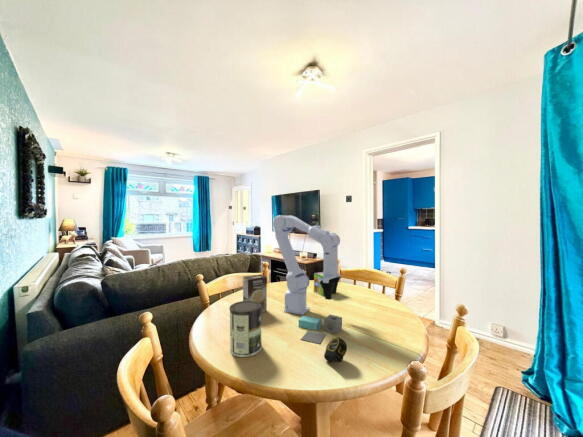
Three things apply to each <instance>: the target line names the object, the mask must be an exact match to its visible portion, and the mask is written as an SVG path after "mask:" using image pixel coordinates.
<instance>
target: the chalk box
mask: <svg viewBox="0 0 583 437" xmlns="http://www.w3.org/2000/svg"><path fill="white" fill-rule="evenodd" d="M323 273H324V268H323V270H322V272H314V273H313V293H315V294H317V295H320V296H322V297H325V296H324V291H323V288H322V286H321V284H320V281H321V280H322V281H323ZM332 295H334V294H332Z"/></svg>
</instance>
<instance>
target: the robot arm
mask: <svg viewBox="0 0 583 437" xmlns="http://www.w3.org/2000/svg"><path fill="white" fill-rule="evenodd" d="M272 226H273V229H274V233H275V235H274V236H275V239H276V242H277V245H278V246H279V247H278V248H279V250H280V253H281V256H282V259H283V261H284V264H285V266H286V269H287V274H286V276H285V279H286V288H287V290H286V291H285V293H284V310H283V312H285V313H290V314H295V315H296V314H297V315H302V316H305V314H306V313H307V312H308V311H309V310H310V307H307V290H308V287H309V286H310V282H311V281H310V278H309V276H307V274H306V273H305V270H304V269H302V268H301V267H300V266H299V263H298V260H297V258H296V254H295V253H294V250H293V247H292V244H291V241H290V239H289V235H290V234H291V232H292V230H294V228H296V229H298V230H300V231H302V232H304V233H306V234H307V235H308V238H310V239H312V240H314V241H315V242H317V243H319V244H320V245H321V246H322V251H323V253H322V254H323V269H324V273H323V281H322V280H321V281H320V284H321V286H322V288H323V291H324V296H323V297H324V299H325V300H329V301H330V300H332V294H333V295H336V294H337V289H338V286H339V281H340V279H341V276H342V274H341V273H339V271H338V270H339V268H338V264H339V263H338V261H339V260H338V258H339V257H338V253H339V252H338V249H339V248H338V246H339V245H340V243H341V238H340V236H339V235H338V234H337V233H335V232H331V233H330V231H329V230H326V229H323V228H321V226H320V225H312V226H311V225H310V224H308V223H306V222H305V221H303V220H301V219H300V218H298V217H297V216H294V215H292V214H291V215H280V214H278V215H276V216H274V219H273V221H272Z"/></svg>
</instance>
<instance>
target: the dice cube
mask: <svg viewBox="0 0 583 437" xmlns="http://www.w3.org/2000/svg"><path fill="white" fill-rule="evenodd" d="M342 330H343V317H342V316H338V315H333V314H329V315H327V316H326V317H325V318H324V319H323V331H324V332H325V333H329V334H333V335H335V336H337V335H338V334H339V333H340V332H341V331H342Z"/></svg>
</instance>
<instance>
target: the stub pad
mask: <svg viewBox="0 0 583 437" xmlns="http://www.w3.org/2000/svg"><path fill="white" fill-rule="evenodd" d="M326 336H327V334H326V333H322V332H321V333H320V332H318V331H317V332H316V331H313V330H307V331H306V332H305V334H304V335H303V336H302V337H301V338H300V340H301V341H304V342H308V343H312V344H317V345H321V343H322V342H323V340H324V339H325V338H326Z"/></svg>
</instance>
